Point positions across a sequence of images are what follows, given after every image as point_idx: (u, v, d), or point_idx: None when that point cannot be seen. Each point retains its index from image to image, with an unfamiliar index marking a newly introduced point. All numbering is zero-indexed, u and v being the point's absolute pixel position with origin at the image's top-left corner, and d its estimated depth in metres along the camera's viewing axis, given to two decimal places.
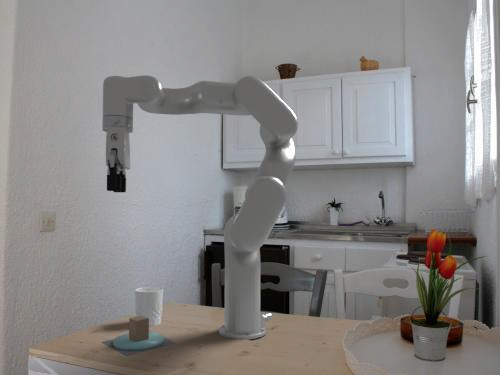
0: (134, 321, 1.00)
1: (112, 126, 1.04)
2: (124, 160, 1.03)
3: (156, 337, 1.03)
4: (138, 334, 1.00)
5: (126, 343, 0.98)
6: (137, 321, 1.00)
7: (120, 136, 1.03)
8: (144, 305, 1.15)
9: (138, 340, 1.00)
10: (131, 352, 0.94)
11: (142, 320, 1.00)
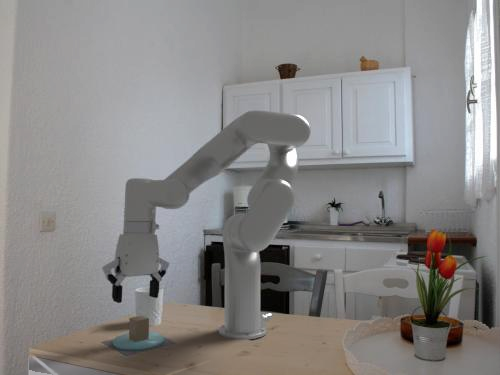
0: (134, 321, 1.00)
1: None
2: None
3: (156, 337, 1.03)
4: (138, 334, 1.00)
5: (126, 343, 0.98)
6: (137, 321, 1.00)
7: None
8: (144, 305, 1.15)
9: (138, 340, 1.00)
10: (131, 352, 0.94)
11: (142, 320, 1.00)
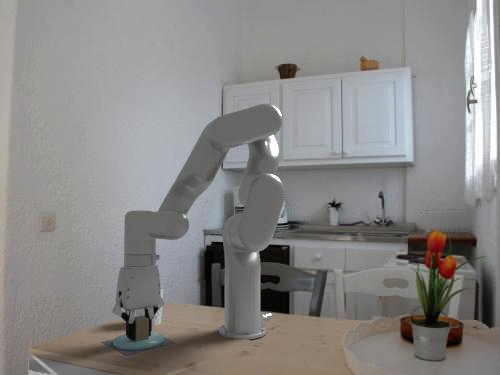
0: (134, 321, 1.00)
1: None
2: None
3: (156, 337, 1.03)
4: (138, 334, 1.00)
5: (126, 343, 0.98)
6: (137, 321, 1.00)
7: None
8: None
9: (138, 340, 1.00)
10: (131, 352, 0.94)
11: (142, 320, 1.00)
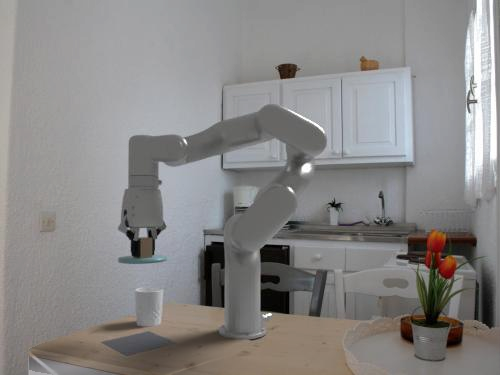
0: (138, 239, 1.05)
1: None
2: None
3: (159, 256, 1.08)
4: (143, 251, 1.05)
5: (132, 259, 1.03)
6: (141, 239, 1.05)
7: None
8: (144, 305, 1.15)
9: (142, 257, 1.05)
10: (131, 352, 0.94)
11: (146, 239, 1.05)
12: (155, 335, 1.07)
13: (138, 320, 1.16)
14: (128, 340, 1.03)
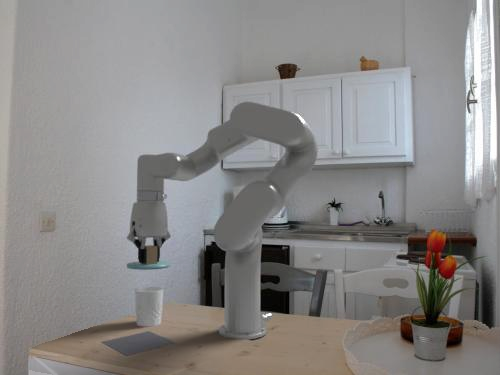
0: (145, 247, 1.18)
1: None
2: None
3: (163, 263, 1.21)
4: (148, 258, 1.18)
5: (138, 265, 1.16)
6: (147, 247, 1.17)
7: None
8: (144, 305, 1.15)
9: (148, 263, 1.17)
10: (131, 352, 0.94)
11: (152, 247, 1.18)
12: (155, 335, 1.07)
13: (138, 320, 1.16)
14: (128, 340, 1.03)
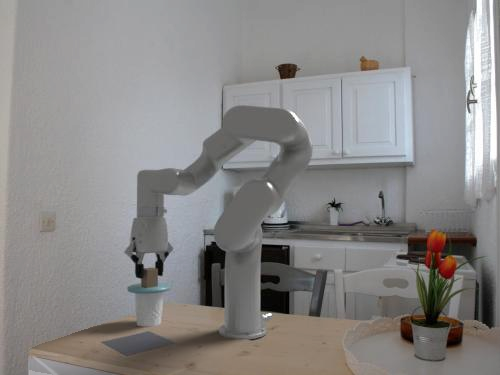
0: (145, 270, 1.17)
1: None
2: None
3: (164, 285, 1.20)
4: (149, 281, 1.17)
5: (139, 288, 1.16)
6: (148, 270, 1.17)
7: None
8: (144, 305, 1.15)
9: (149, 286, 1.17)
10: (131, 352, 0.94)
11: (152, 270, 1.18)
12: (155, 335, 1.07)
13: (138, 320, 1.16)
14: (128, 340, 1.03)
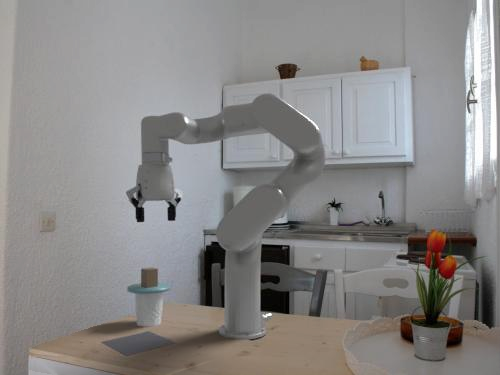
0: (145, 270, 1.17)
1: None
2: None
3: (164, 285, 1.20)
4: (149, 281, 1.17)
5: (139, 288, 1.16)
6: (148, 270, 1.17)
7: None
8: (144, 305, 1.15)
9: (149, 286, 1.17)
10: (131, 352, 0.94)
11: (152, 270, 1.18)
12: (155, 335, 1.07)
13: (138, 320, 1.16)
14: (128, 340, 1.03)
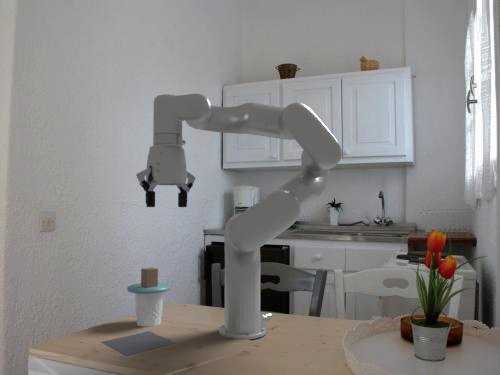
0: (145, 270, 1.17)
1: None
2: None
3: (164, 285, 1.20)
4: (149, 281, 1.17)
5: (139, 288, 1.16)
6: (148, 270, 1.17)
7: None
8: (144, 305, 1.15)
9: (149, 286, 1.17)
10: (131, 352, 0.94)
11: (152, 270, 1.18)
12: (155, 335, 1.07)
13: (138, 320, 1.16)
14: (128, 340, 1.03)
